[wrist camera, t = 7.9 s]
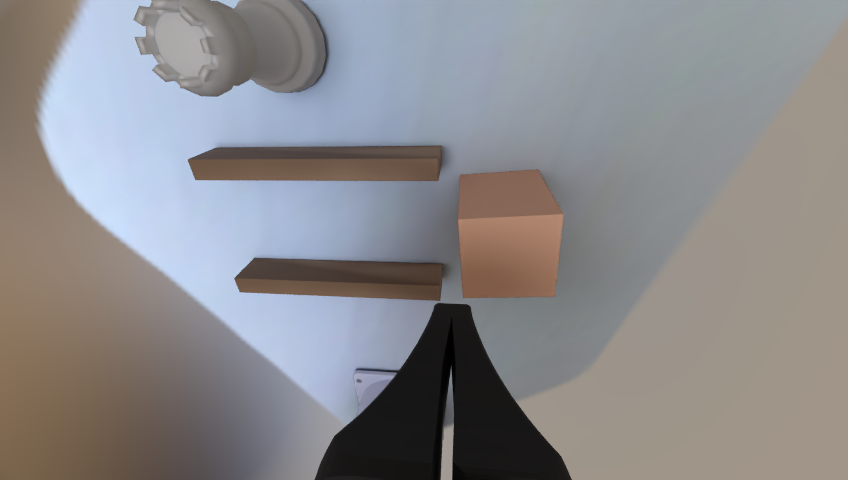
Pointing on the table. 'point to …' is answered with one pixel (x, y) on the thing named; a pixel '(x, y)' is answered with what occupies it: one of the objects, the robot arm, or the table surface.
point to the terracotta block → (508, 235)
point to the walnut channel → (330, 166)
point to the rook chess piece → (233, 44)
